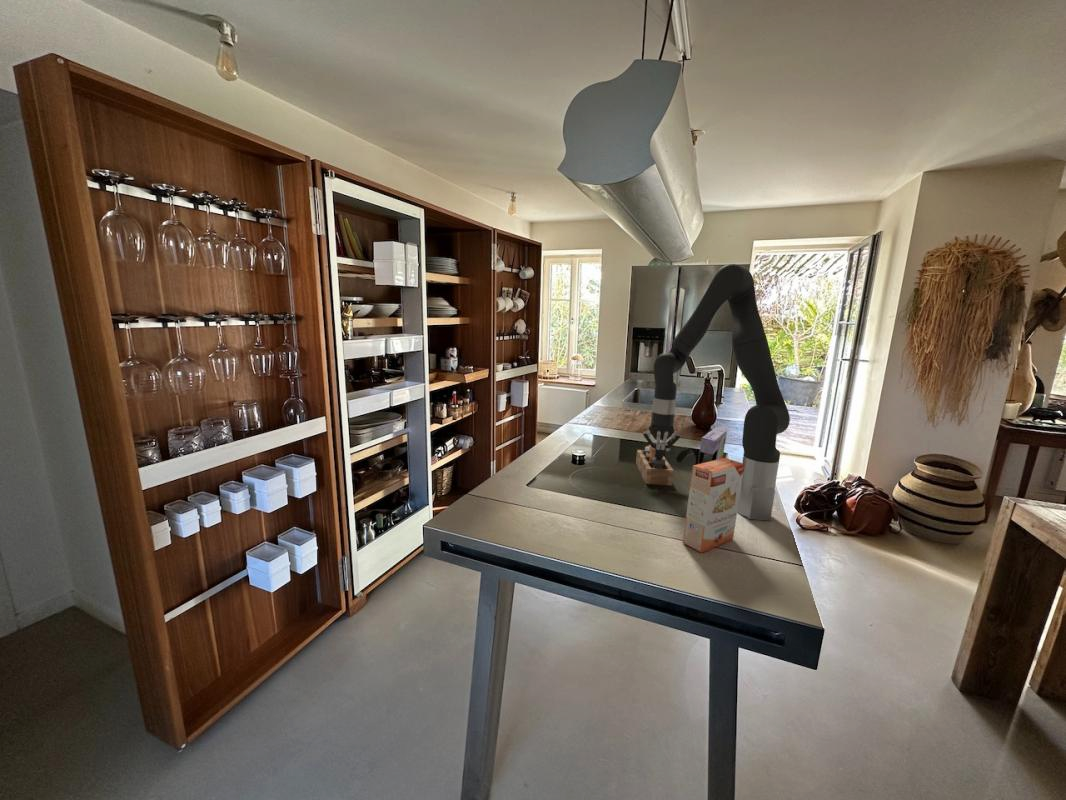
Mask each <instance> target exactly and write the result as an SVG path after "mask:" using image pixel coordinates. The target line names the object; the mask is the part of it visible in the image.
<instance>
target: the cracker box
mask: <svg viewBox="0 0 1066 800" xmlns="http://www.w3.org/2000/svg"><path fill="white" fill-rule="evenodd" d="M744 466H745V464H743V463H742V462H740V461H736V460H733V459H731V458H730V459H729V458H727V457H723V458H722V459H718V460H714V461H710V462H706V463H701V464H698V463H697V464H694V465H692V469H691V475H690V476H691V477H690V484H689V485H690V486H689V494H688V500H687V507H686V515H685V522H684V523H685V524H684V530H683V531H684V532H683V539H682V543H683V544H684V545H686V546H688V547H689V548H691V549H694V550H695V551H697V552H699V553H701V554H702V553H704V552H707V551H709V550H711V549H713V548H716V547H719V546H720V545H722V544H725V543H727V542H730V541H732V540H733V539H734V537H735V535H734V534H735V528H736V522H737V516H738V512H737V510H738V504H739V497H740V491H741V485H742V478H743V472H744Z"/></svg>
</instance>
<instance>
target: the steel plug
mask: <svg viewBox="0 0 1066 800" xmlns="http://www.w3.org/2000/svg"><path fill="white" fill-rule="evenodd" d="M644 450H645V452H646V456H650V450H649V445H647V446H645V447H644Z"/></svg>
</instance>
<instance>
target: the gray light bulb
mask: <svg viewBox="0 0 1066 800" xmlns="http://www.w3.org/2000/svg"><path fill="white" fill-rule="evenodd" d="M665 459H666V458H665ZM665 459H661V460H657V459H656V458H655V457H653V458H652V463H653V468H659V469H663V465H665Z"/></svg>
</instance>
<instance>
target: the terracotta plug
mask: <svg viewBox="0 0 1066 800" xmlns="http://www.w3.org/2000/svg"><path fill="white" fill-rule="evenodd" d="M648 446H649V450H650V458H649V462H652V458H653V457H655V456H654V453H655V448H652V447H651V446H650V444H649V445H648Z"/></svg>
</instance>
